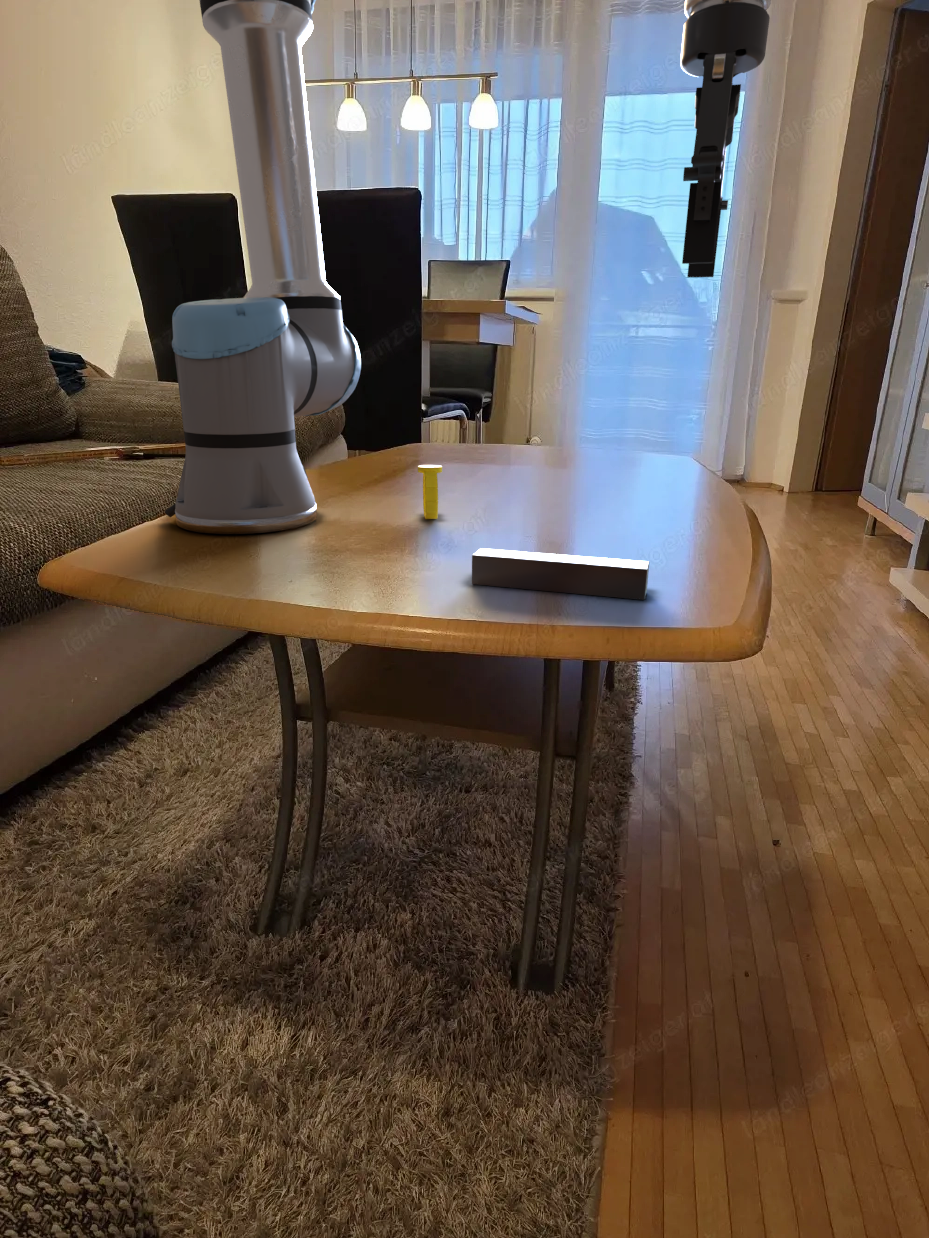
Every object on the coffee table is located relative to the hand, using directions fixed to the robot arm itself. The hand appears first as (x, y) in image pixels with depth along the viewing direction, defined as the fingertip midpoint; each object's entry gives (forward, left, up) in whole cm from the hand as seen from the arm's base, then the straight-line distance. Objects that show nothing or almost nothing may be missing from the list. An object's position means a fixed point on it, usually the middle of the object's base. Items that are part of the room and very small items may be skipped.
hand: (698, 271), depth 76 cm
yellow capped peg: (-27, -5, -26) cm, 38 cm away
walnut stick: (-8, -28, -26) cm, 39 cm away
